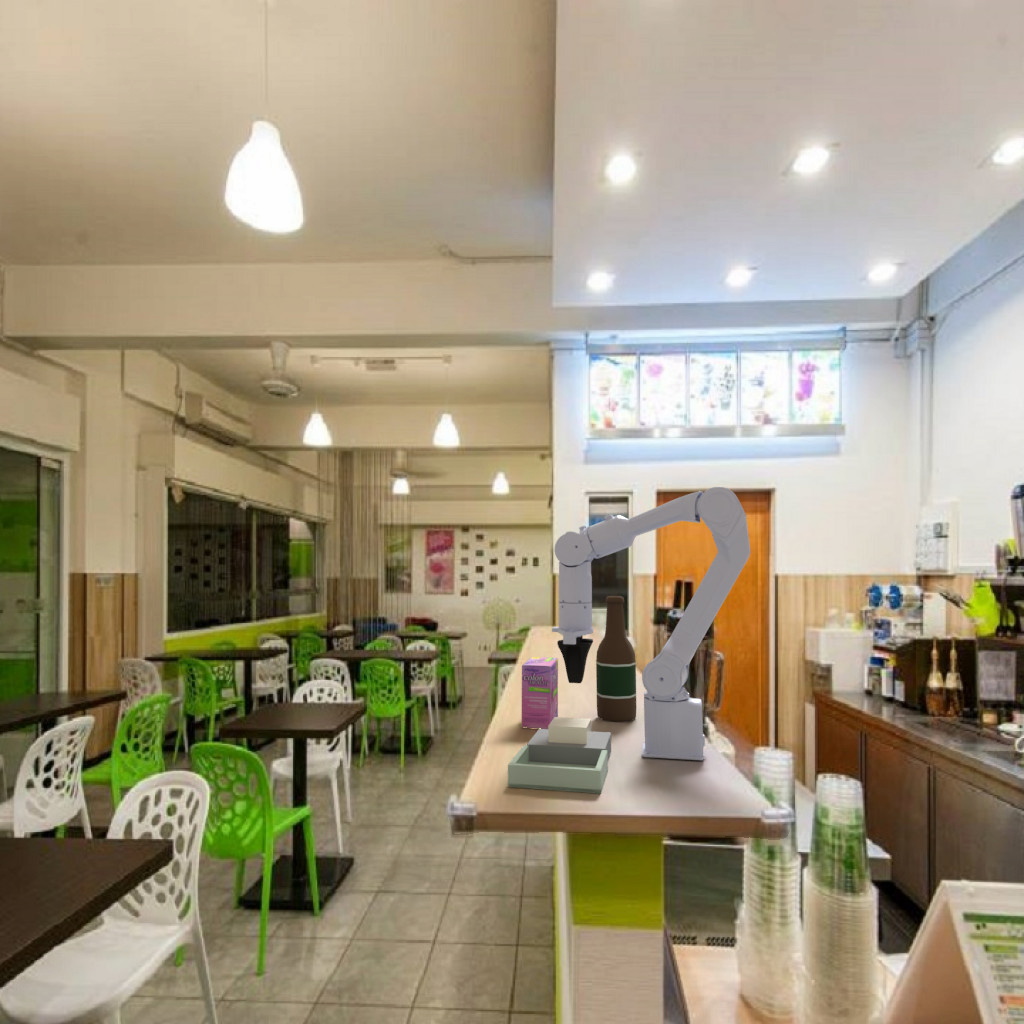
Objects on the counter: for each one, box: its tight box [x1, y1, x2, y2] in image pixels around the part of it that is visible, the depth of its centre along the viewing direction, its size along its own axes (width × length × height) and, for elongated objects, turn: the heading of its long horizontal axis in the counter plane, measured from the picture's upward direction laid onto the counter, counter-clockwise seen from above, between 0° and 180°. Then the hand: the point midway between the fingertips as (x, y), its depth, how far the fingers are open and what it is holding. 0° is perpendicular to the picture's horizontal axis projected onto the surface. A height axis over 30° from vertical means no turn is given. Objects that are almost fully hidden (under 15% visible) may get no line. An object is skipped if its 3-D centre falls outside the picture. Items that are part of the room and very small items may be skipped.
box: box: [520, 656, 559, 729], centre depth 132 cm, size 10×6×12 cm, turn 168°
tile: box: [548, 716, 592, 744], centre depth 109 cm, size 6×6×2 cm
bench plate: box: [526, 729, 612, 766], centre depth 109 cm, size 12×10×3 cm
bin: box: [507, 744, 609, 795], centre depth 98 cm, size 13×11×3 cm
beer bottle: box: [595, 595, 637, 723], centre depth 136 cm, size 8×8×24 cm
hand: (575, 682), depth 117 cm, fingers closed
